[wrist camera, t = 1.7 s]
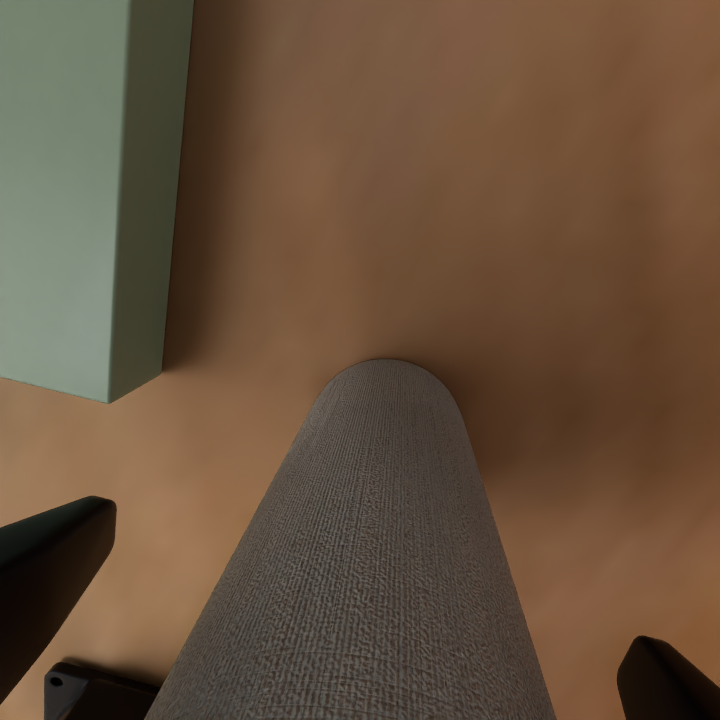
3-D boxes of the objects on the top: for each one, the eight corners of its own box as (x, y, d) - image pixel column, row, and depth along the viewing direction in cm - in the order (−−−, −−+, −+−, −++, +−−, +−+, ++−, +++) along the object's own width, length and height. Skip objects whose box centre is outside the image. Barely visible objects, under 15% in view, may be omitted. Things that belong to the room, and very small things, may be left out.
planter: (471, 487, 13) (659, 1200, 4) (328, 503, 14) (146, 1140, 4) (451, 344, 12) (646, 812, 2) (296, 369, 13) (-59, 814, 3)
